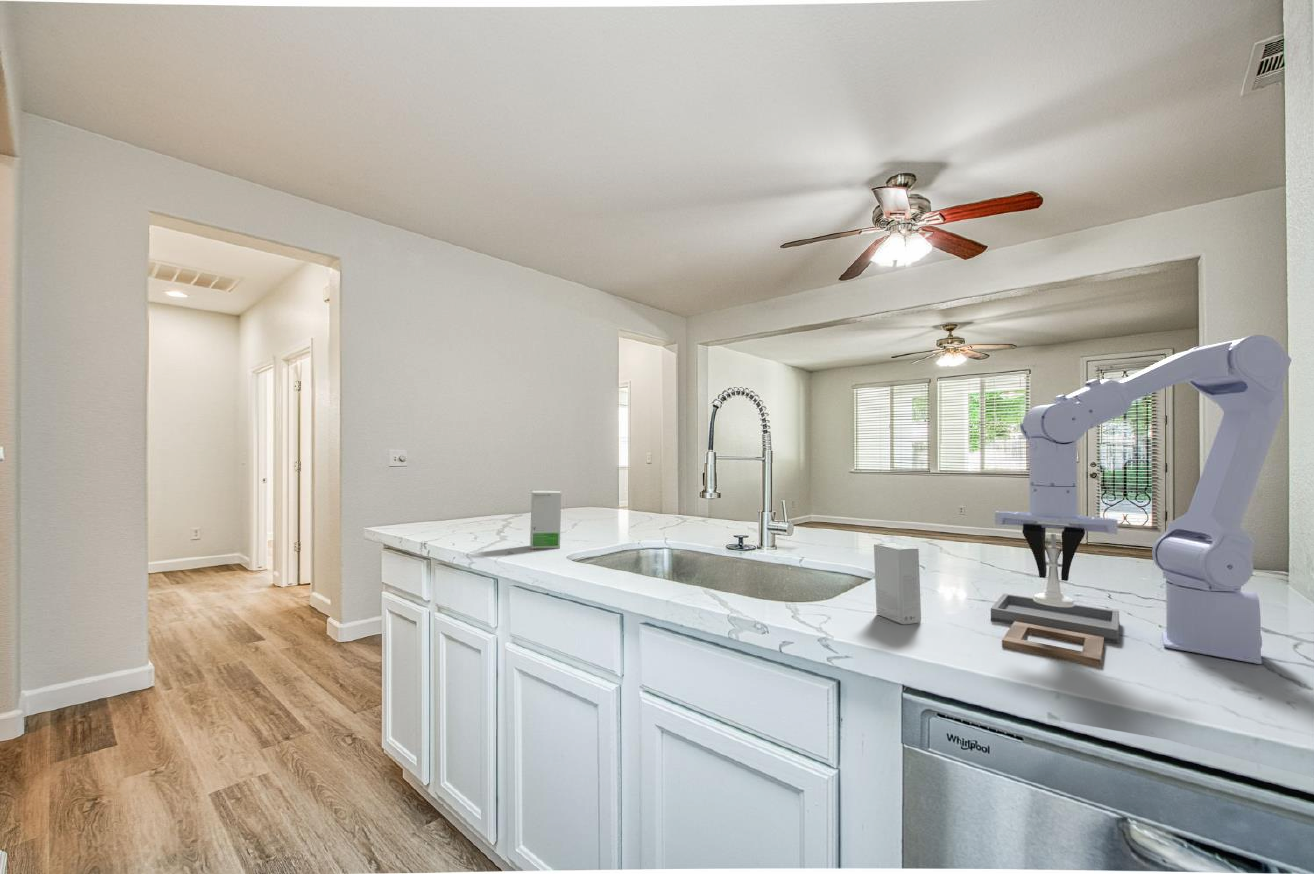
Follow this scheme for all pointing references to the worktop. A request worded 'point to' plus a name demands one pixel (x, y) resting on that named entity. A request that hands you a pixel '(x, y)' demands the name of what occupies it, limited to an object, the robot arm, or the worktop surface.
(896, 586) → the skincare box
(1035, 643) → the walnut holder
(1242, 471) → the robot arm
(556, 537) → the skincare box
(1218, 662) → the worktop surface
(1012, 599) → the parts tray
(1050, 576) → the chess piece
